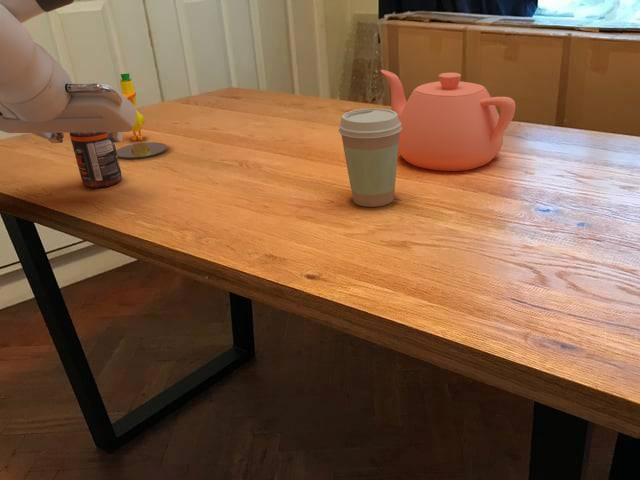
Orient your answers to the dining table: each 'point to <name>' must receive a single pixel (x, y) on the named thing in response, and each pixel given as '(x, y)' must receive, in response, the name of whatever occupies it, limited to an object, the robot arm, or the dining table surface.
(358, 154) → the coffee cup
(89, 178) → the supplement bottle
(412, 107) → the teapot
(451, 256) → the dining table surface
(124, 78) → the toy figure
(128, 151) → the coaster
